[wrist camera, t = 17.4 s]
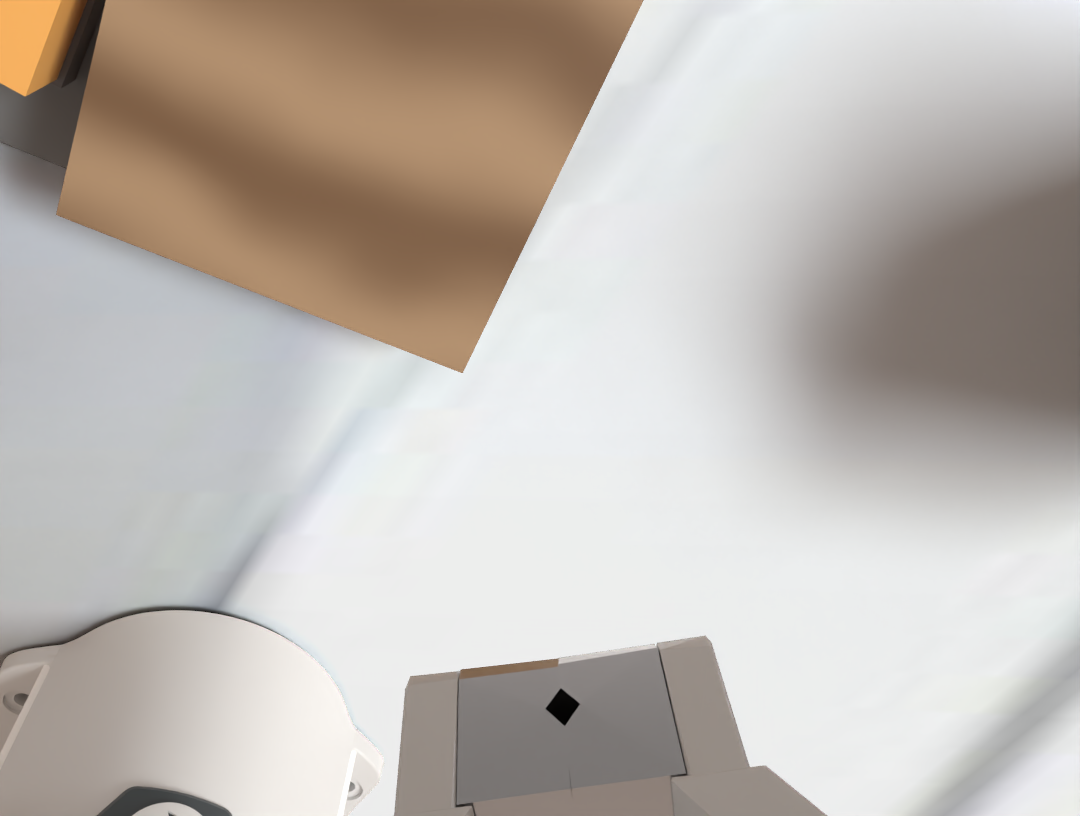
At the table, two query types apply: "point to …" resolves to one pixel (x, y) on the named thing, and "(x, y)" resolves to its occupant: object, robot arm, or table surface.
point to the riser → (340, 147)
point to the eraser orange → (44, 41)
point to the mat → (45, 115)
